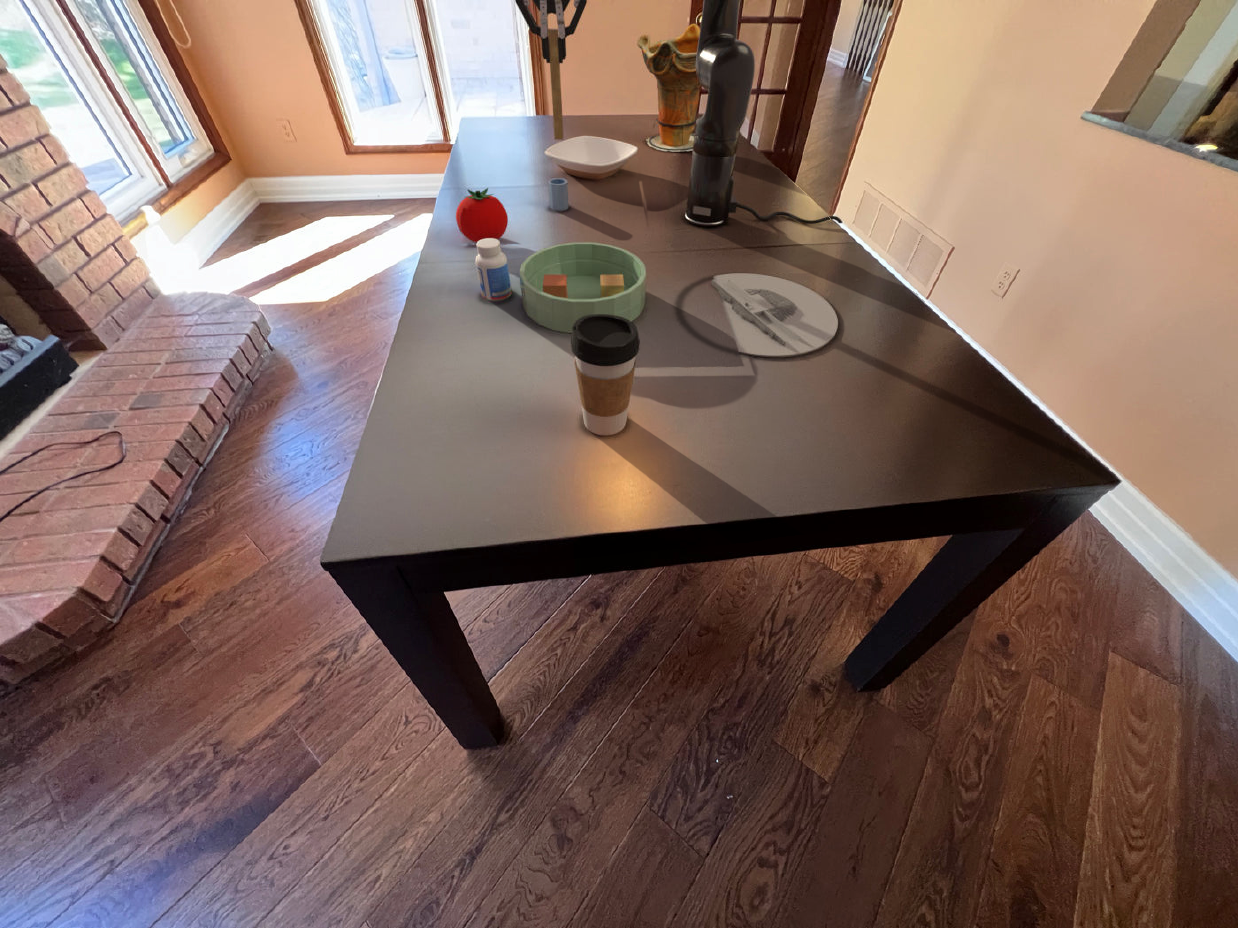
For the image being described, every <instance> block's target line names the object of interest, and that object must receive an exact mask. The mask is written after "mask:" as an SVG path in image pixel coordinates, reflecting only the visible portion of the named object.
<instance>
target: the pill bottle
mask: <svg viewBox="0 0 1238 928" xmlns="http://www.w3.org/2000/svg"><path fill="white" fill-rule="evenodd" d="M475 243H476V242H475ZM476 250H477V253H478V254H477V255H476V256H475V259H474V260H475V267H476V273H477V277H478V282H479V286H480V287H479V289H480V293H481V297H482V298H484V300H485V299H486V300H489V301H502V300H506V299H507V298H509V297H510V296H511V295H512V292H513V291H512V286H511V277H510V273H509V265H508V258H507V255H506V254H505V253H504V252H502V246H501V242H500V240H499V239H498V240H497V239H494V238H486V239H482V240H479V241H478V242H477V243H476Z"/></svg>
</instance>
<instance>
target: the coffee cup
mask: <svg viewBox="0 0 1238 928" xmlns="http://www.w3.org/2000/svg"><path fill="white" fill-rule="evenodd" d="M640 340H641V339H640V338H639V331H638V327H637V326H636V325H635V323H634V322H633V321H632V322H631V321H629V320H627V319H625V318H623V317H619V316H615V315H607V314H593V315H586V316H583V317H581V318H579V319H578V320H577V321H576V322H575V323H574V325H573V327H572V333H571V338H570V345H571V346H570V349H571V352H572V353H573V356H574V357H575V358H574V367H575V374H576V379H577V385H578V386H577V387H578V392H579V400H580V404H581V410H582V418H583V424H584V426H585V428H586V429H587V430H588V431H589V432H590V433H592V434H595V435H597V436H612V435H615V434H618V433H619V432H622V430H623V429H624V428H625V426H626V424H627V419H628V412H629V405H630V401H631V395H632V388H633V382H634V376H635V370H636V364H637V363H636V361H637V360H636V356H637V355H638V354H639V351H640V344H641V341H640Z"/></svg>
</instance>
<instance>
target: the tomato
mask: <svg viewBox="0 0 1238 928" xmlns="http://www.w3.org/2000/svg"><path fill="white" fill-rule="evenodd" d="M466 190H467V192H468V193H469V195H467V196H465V197H464V198H463V199H462V200H461V201H460V202H459V204H458V206H457V208H456V210H455V211H456V212H455V221H456V224H457V227H458V230H459V232H460V233H461V234H462V235H463V236H464V237H466V239H468V240H470V241H471V242H473V243H477V242H478V241H479V240H482V239H486V238H494V239H497V240H499V239H500V238H502V236H504V234H505V232H506V230H507V228H508V224H509V223H508V222H509V218H508V217H509V216H508V213H507V211H506V209H505V206H504V204H503V203H502V202H501V201H500V199H498V198H497V197H496V196H494V193H491V194H487V193H488V191H489V187H487V188H485V189H484V190H482V191H480V190H475V191H472V190H470V189H468V188H467V189H466Z"/></svg>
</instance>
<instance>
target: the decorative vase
mask: <svg viewBox="0 0 1238 928" xmlns="http://www.w3.org/2000/svg"><path fill="white" fill-rule="evenodd" d="M699 34H700V27H699V25H698V24H697V23H692V24H690V25H688V27H687V28H686V29H685V30H684V32H683V34H682V35H680V36H678V37H676V38H672V39H671V38H669V39H663V40H662V39H661V40H657V41H653V42H651V37H650V35H649V34H643V35H640V37H639V38H638V40H637V43H636V44H637V47H638V48H639V49H640V50H641V53H642V58H643V61H644V64H645V67H646V69H647V70H648V72H649V73H650V74H652V75H653V77H655V79H656V89H657V106H658V107H657V109H658V110H657V111H658V117H657V118H656V119H655V121H657V124H658V130H659V131H658V132H659V134H655V135H652V136H650V137H648V138H647V139H645V141H646V144H647V145H648V146H649V147H651V148H654V149H655V150H657V151H662V152H672V153H674V152H678V153H679V152H693V144H694V134H695V132H694V131H695V125H696V121H697V117H696V116H697V110H698V107H699V101H700V100H699V99H700V88H701V87H702V86H701V85H700V83H699V81H698V78H697V75H696V56H697V48H698V41H699ZM655 125H656V123H654V124H653V127H652V129H654V128H655Z"/></svg>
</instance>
